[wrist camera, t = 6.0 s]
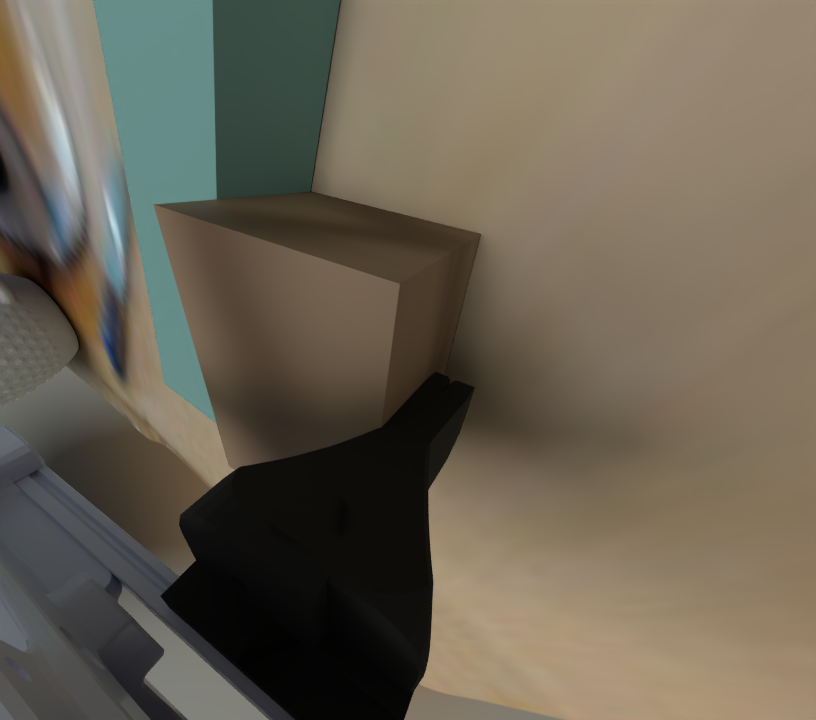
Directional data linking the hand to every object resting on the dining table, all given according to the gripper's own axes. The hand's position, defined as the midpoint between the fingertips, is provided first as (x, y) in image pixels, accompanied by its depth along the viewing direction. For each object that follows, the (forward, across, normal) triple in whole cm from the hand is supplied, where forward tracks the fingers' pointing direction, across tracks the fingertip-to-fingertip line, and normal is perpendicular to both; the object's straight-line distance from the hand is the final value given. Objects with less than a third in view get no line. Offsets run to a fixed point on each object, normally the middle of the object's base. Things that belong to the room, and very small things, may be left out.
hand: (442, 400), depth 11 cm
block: (+1, +4, 0) cm, 4 cm away
